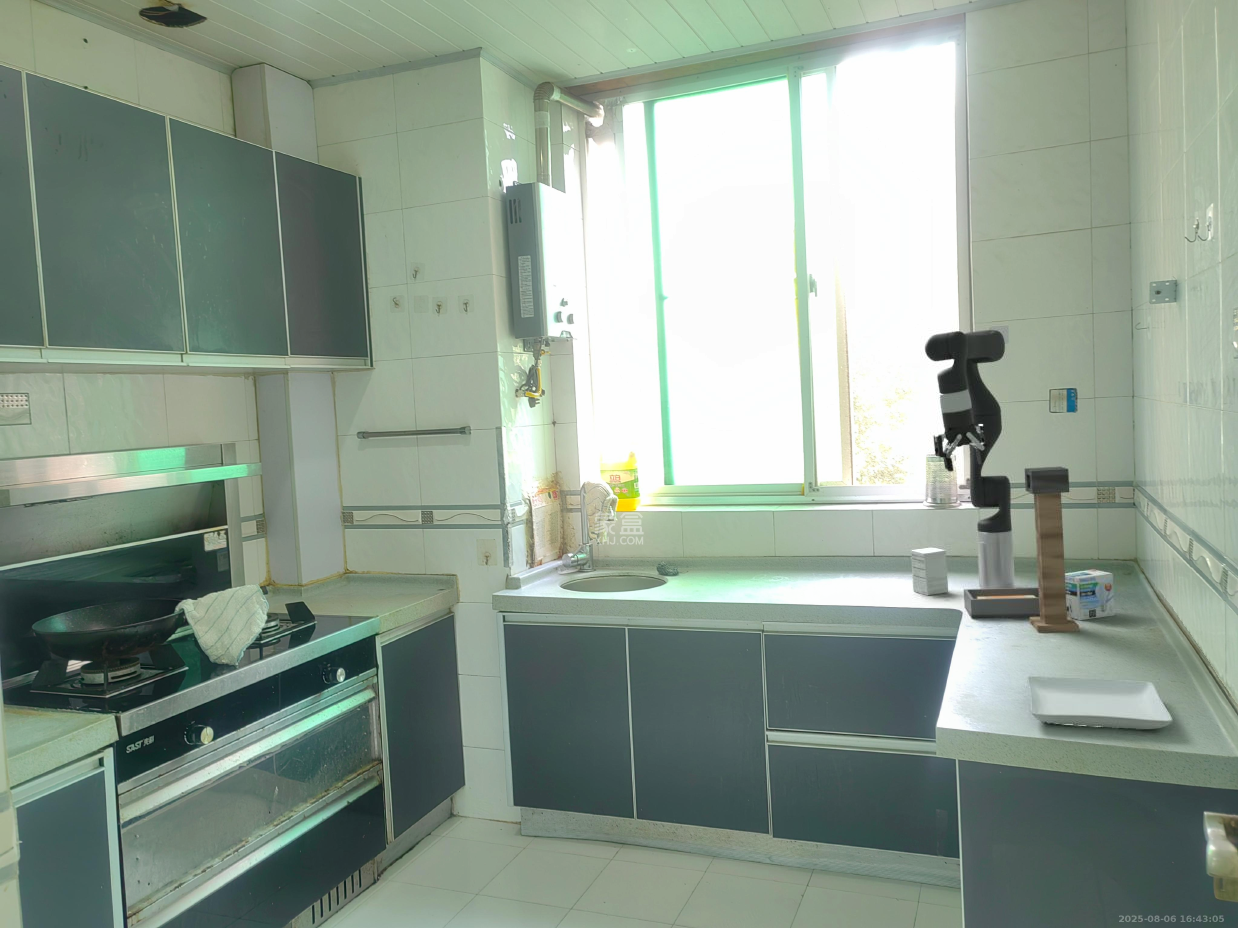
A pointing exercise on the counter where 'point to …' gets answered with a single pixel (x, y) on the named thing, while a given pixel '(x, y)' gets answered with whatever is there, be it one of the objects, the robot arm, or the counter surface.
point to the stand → (1050, 547)
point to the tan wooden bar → (1006, 597)
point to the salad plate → (1097, 702)
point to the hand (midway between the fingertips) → (965, 467)
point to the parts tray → (1002, 603)
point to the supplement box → (929, 571)
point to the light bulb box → (1089, 594)
